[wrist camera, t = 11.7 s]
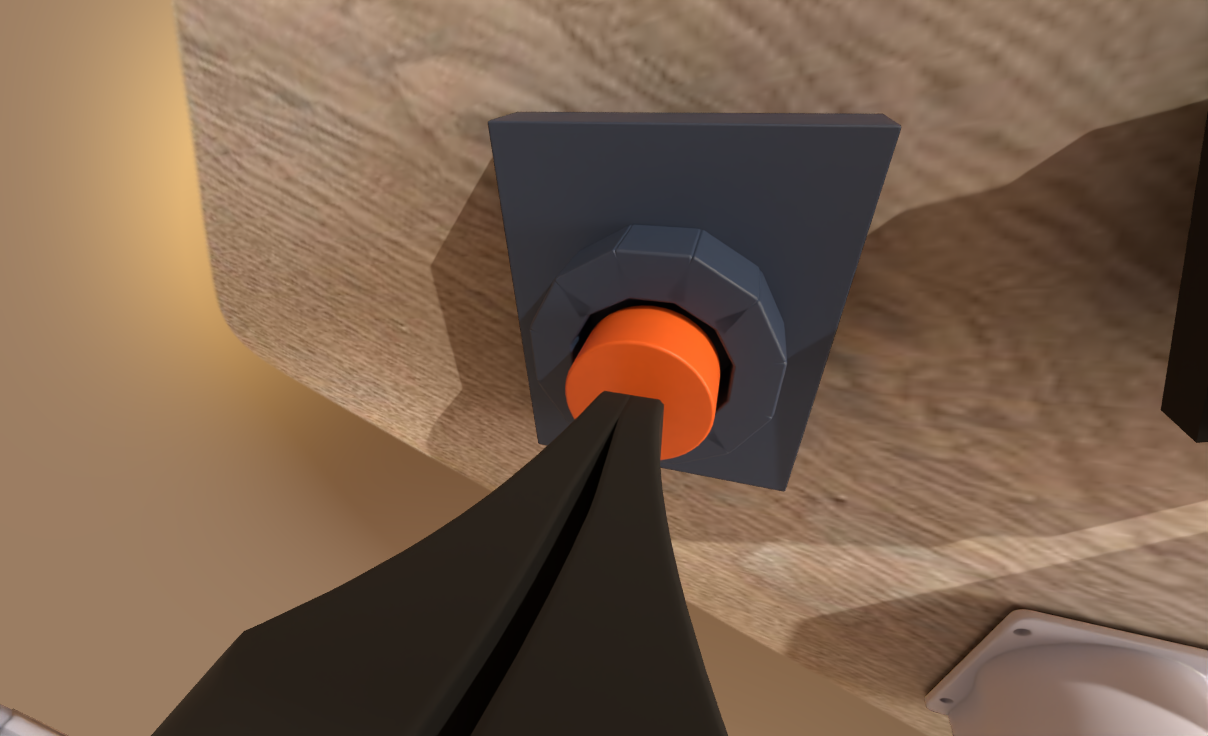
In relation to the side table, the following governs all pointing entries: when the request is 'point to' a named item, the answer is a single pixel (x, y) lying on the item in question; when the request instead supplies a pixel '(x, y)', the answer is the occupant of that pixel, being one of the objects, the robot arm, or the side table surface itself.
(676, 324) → the button
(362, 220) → the side table surface
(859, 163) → the button box
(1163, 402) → the tool
